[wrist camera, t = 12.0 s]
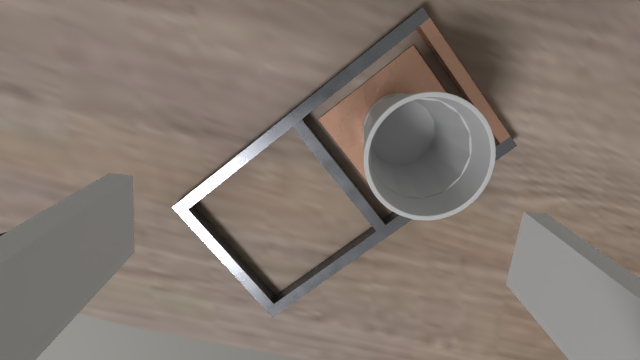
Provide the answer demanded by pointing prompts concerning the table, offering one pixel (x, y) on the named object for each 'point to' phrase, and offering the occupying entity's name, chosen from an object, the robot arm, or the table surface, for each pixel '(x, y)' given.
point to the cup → (427, 153)
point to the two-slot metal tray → (347, 131)
